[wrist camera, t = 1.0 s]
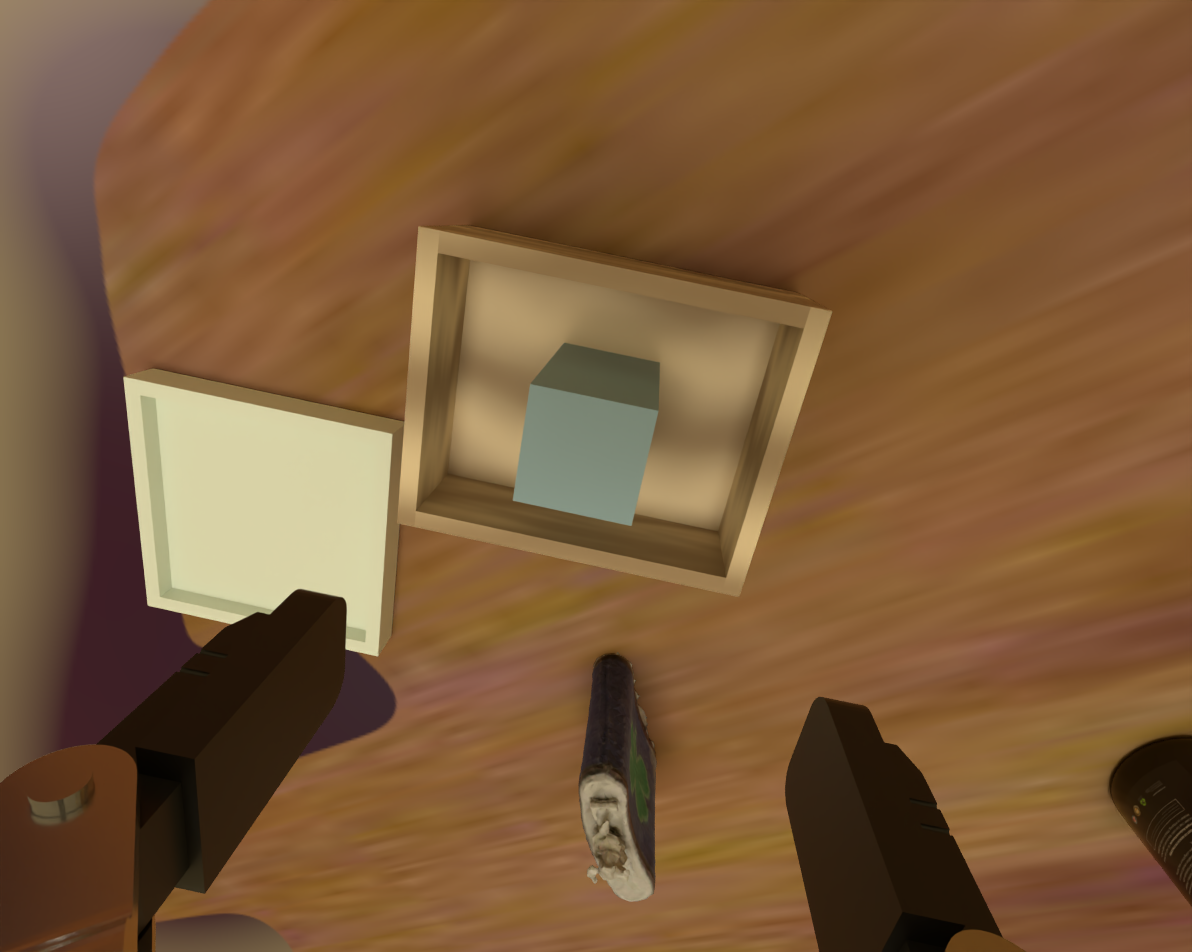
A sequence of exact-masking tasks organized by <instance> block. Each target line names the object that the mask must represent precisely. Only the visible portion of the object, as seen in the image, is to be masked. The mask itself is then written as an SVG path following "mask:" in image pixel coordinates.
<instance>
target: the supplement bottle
mask: <svg viewBox="0 0 1192 952" xmlns="http://www.w3.org/2000/svg"><path fill="white" fill-rule="evenodd" d="M1111 793H1112V798H1113V801H1114V804H1115V806H1116V807H1117V809H1118V811H1119V812H1120V813H1121V815H1122V816H1123V818H1124V819H1125V820H1126V822H1127V823H1128V824H1129V826H1130V827H1131V828H1132V830H1133V831H1134V832H1135V834H1136V835H1137V836H1138V837H1139V839H1140V840H1141V841H1142V843H1143V844H1144V845H1145V847H1146V848H1147V849H1148V850H1149V852H1150V853H1151V854H1152V856H1153V857H1154V858H1155V860H1156V861H1157V862H1158V863H1159V865H1160V866H1161V867H1162V869H1163V870H1164V871H1165V873H1166V874H1167V875H1168V876H1169V878H1170V879H1171V880H1172V882H1173V883H1174V884H1175V886H1176V887H1177V888H1178V889H1179V891H1180V892H1181V893H1182V895H1183V896H1184V897H1185V899H1186V900H1187V901H1188V902H1189V904H1190V905H1191V906H1192V738H1176V739H1169V740H1163V741H1160V742H1156V743H1153V744H1150V745H1148V746H1146V747H1143V748H1141V749H1140V750H1138V751H1136V752H1135V753H1133V754H1132V755H1130V756H1129V757H1128V758H1127V759H1126V760H1125V761H1124V762H1123V763H1122V764H1121V765H1120V766H1119V768H1118V769H1117V771H1116V773H1115V775H1114V777H1113V780H1112V786H1111Z"/></svg>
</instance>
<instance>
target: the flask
mask: <svg viewBox="0 0 1192 952" xmlns="http://www.w3.org/2000/svg"><path fill="white" fill-rule="evenodd" d="M593 667H594V669H593V673H592V678H593V682H592V692H591V700H590V707H589V717H588V724H587V730H586V739H585V745H584V753H583V761H582V766H581V773H580V778H579V797H580V799H579V801H580V807H581V819H582V823H583V828H584V831H585V834H586V840H587V841H588V844H589V847H590V850H591V852H592V855H593V856H594V858H595V861H596V863H597V865H598V866H599V868H598V869H597V868H595V867H594V866H593V865H592V866H590V867H589V868H588V870H587V876H588V877H589V878H591V879H592V881H593V882H594V884H595V883H596V882H597V879H596V877H595V876H596V874H597V872H598V874H599V875H600V876H601V877H602V878H603V880H606V881H607V883H608V884H609V886H610V887H611V888H612V890H613V892H614V893H615V894H616V895H617V896H618V897H620V898H622V899H624V900H627V901H640V900H643V899H647V898H648V897H649V896H650V895H652V894H654V888H655V783H656V772H655V770H656V763H657V761H656V756H655V751H654V744H653V741H652V742H650V739H649V736H648V732H647V727H646V726H647V725H648V724H647V722H646V719H647V717H646V716H645V712H644V711H643V709H641V707H639V705H638V703H637V699H638V697H640V696H639V695H638V694H637V693H636V691H635V689H634V683H635V681H636V680H634V673H633V670H632V664H631V663H630V662H629V661H628V660H627V659H625V658H624V657H622V656H620V654H619V653H616V654H608V655H602V656H601V657H599V658H597V659H596V662H595V663H594V666H593Z"/></svg>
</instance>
